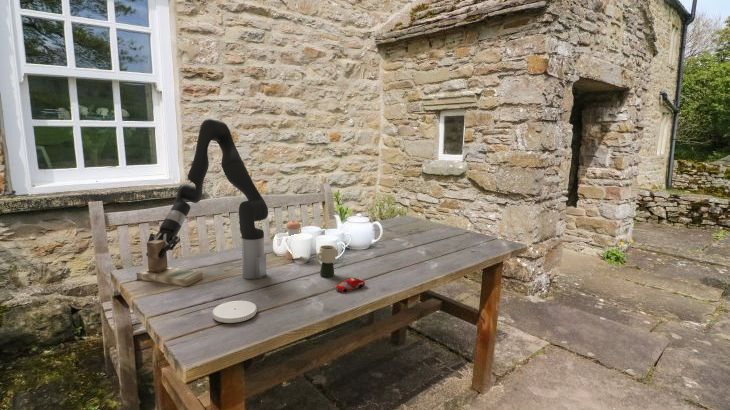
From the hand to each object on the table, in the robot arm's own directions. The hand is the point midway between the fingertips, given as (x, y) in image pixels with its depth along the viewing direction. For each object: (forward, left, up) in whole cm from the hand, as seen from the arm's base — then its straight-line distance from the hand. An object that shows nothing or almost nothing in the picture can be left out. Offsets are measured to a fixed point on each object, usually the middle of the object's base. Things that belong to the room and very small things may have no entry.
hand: (153, 256), depth 162 cm
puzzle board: (-6, -2, -9) cm, 11 cm away
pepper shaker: (-41, -47, -10) cm, 63 cm away
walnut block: (0, -2, -6) cm, 6 cm away
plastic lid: (-50, +19, -10) cm, 54 cm away
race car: (-80, -17, -10) cm, 82 cm away
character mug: (-66, -28, -10) cm, 72 cm away
